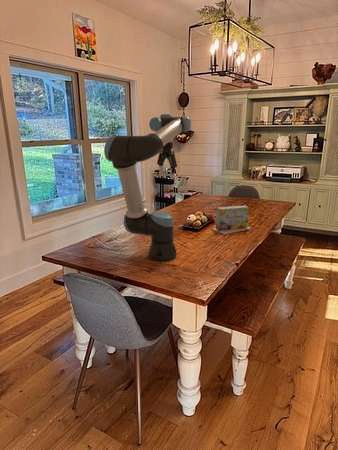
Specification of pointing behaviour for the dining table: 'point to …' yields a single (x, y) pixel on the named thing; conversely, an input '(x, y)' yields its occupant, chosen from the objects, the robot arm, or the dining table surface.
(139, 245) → the dining table surface
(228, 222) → the snack box
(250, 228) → the rest mat
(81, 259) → the dining table surface
